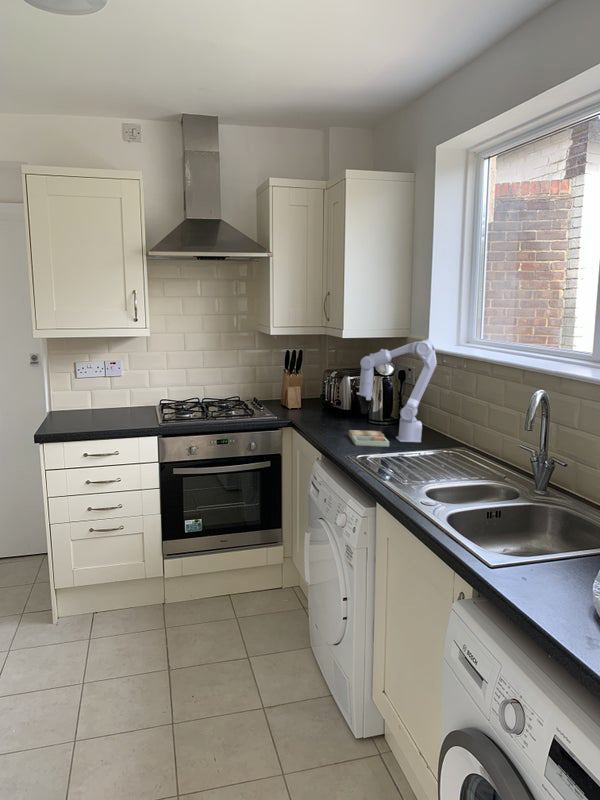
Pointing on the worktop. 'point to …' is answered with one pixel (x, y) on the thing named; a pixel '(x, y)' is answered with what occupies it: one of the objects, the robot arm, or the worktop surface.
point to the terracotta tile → (377, 438)
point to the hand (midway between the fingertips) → (364, 413)
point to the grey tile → (363, 438)
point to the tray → (370, 442)
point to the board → (364, 433)
